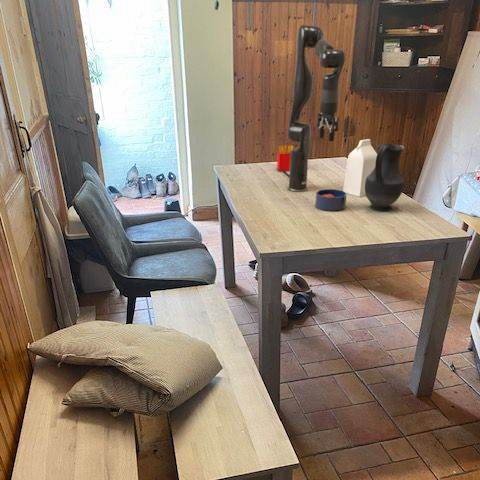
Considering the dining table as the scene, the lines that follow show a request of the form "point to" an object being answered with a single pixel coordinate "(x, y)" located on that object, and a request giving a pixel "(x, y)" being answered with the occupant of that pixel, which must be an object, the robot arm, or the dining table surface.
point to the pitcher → (385, 178)
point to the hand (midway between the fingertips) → (326, 139)
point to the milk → (359, 168)
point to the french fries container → (284, 158)
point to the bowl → (331, 199)
